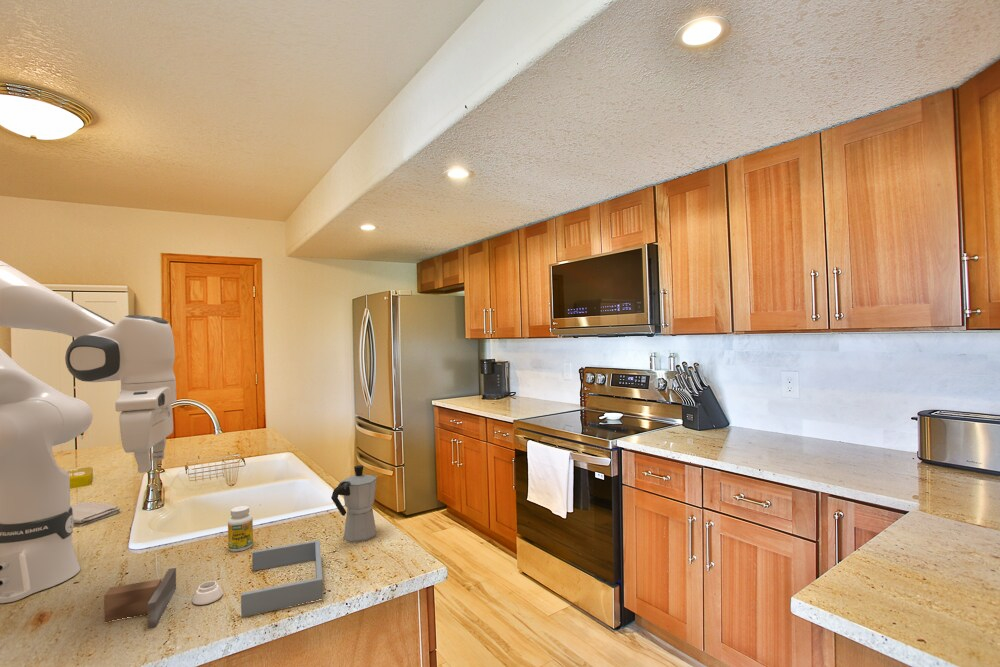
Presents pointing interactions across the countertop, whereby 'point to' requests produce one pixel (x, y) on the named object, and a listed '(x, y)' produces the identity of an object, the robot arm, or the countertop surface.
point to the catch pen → (284, 593)
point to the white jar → (207, 593)
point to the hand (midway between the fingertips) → (151, 465)
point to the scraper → (140, 599)
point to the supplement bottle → (240, 529)
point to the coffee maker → (357, 505)
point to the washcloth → (92, 512)
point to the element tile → (80, 477)
